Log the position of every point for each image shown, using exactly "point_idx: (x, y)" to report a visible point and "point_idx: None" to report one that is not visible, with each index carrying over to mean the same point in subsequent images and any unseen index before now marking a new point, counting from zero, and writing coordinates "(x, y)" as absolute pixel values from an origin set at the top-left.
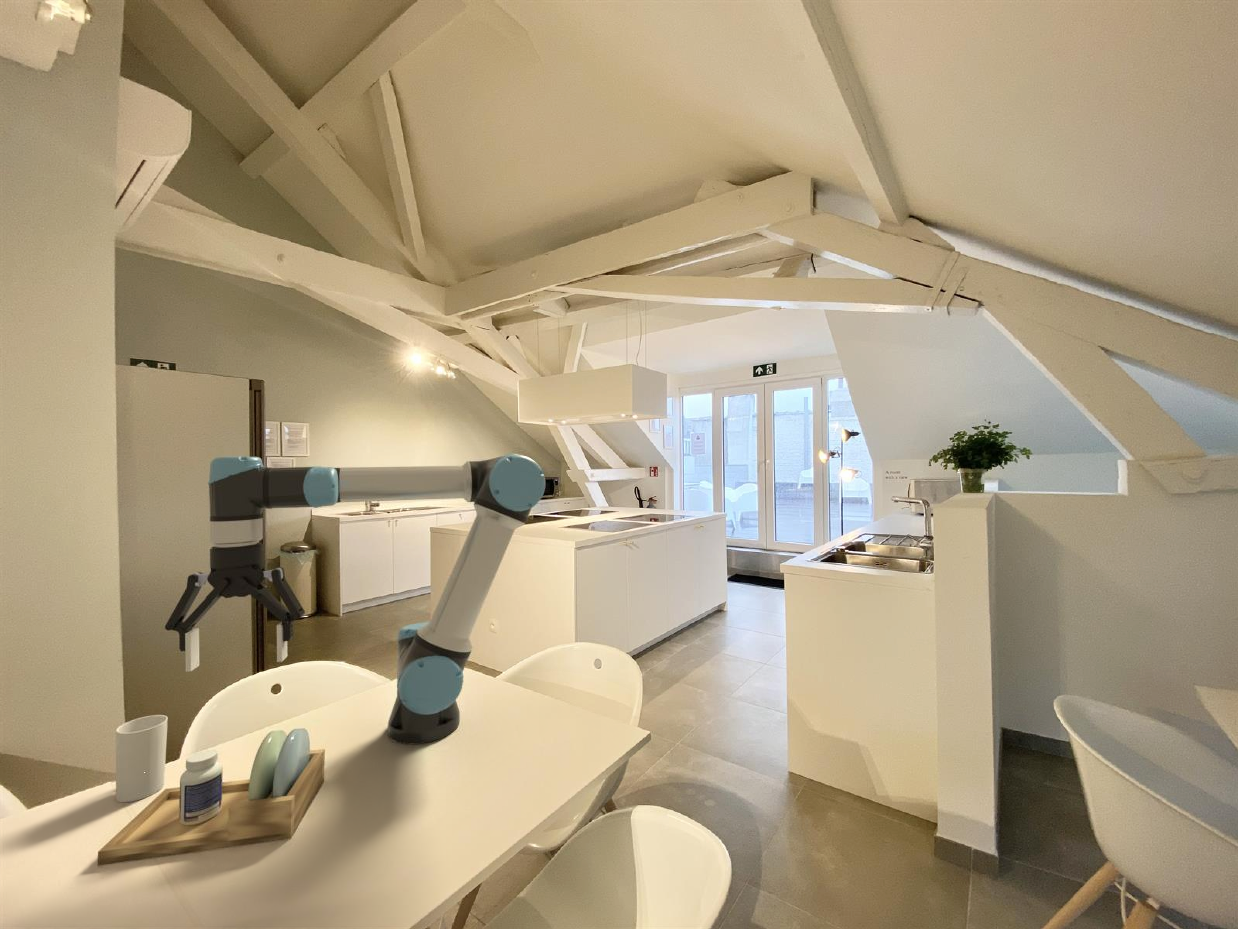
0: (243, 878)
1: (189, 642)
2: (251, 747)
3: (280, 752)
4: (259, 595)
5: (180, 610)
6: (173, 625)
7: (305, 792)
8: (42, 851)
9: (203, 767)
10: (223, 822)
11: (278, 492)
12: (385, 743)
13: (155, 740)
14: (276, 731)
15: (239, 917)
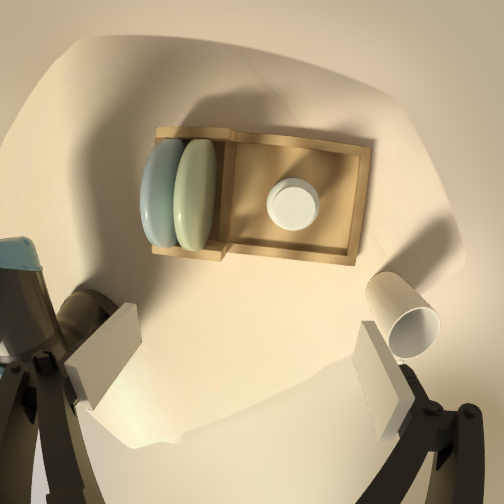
0: (204, 82)
1: (391, 376)
2: (289, 356)
3: (158, 158)
4: (60, 491)
5: (464, 471)
6: (461, 418)
7: None
8: (429, 201)
9: (284, 187)
10: (256, 172)
11: None
12: None
13: (389, 310)
14: (176, 215)
15: (191, 40)
